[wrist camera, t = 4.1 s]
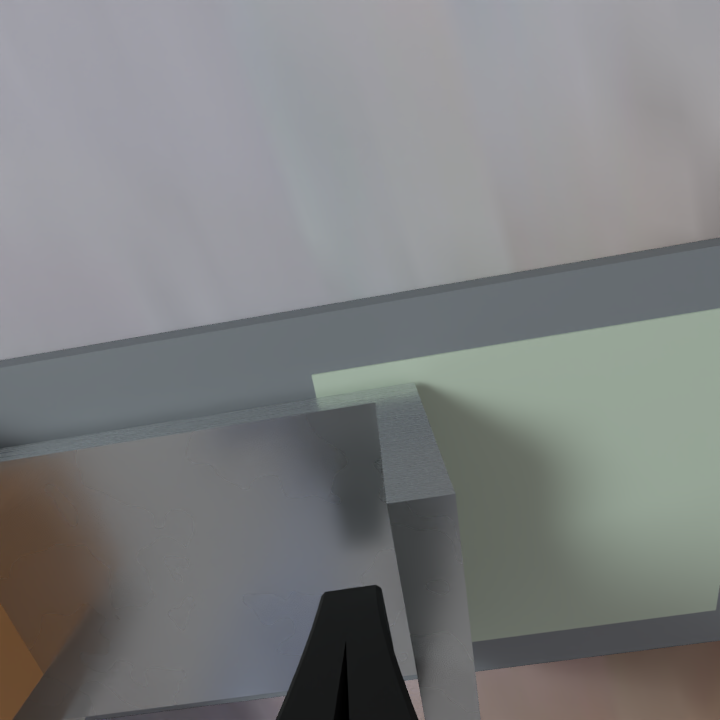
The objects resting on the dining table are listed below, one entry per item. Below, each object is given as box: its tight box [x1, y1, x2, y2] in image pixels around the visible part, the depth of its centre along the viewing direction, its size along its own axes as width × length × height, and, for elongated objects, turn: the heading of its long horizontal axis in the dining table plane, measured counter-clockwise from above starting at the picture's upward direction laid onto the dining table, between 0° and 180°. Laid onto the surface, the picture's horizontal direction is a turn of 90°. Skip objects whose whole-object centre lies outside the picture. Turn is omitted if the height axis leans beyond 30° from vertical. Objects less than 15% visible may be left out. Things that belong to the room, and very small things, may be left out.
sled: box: [0, 382, 480, 720], centre depth 10 cm, size 9×19×4 cm, turn 100°
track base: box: [0, 238, 720, 720], centre depth 12 cm, size 13×38×1 cm, turn 100°
